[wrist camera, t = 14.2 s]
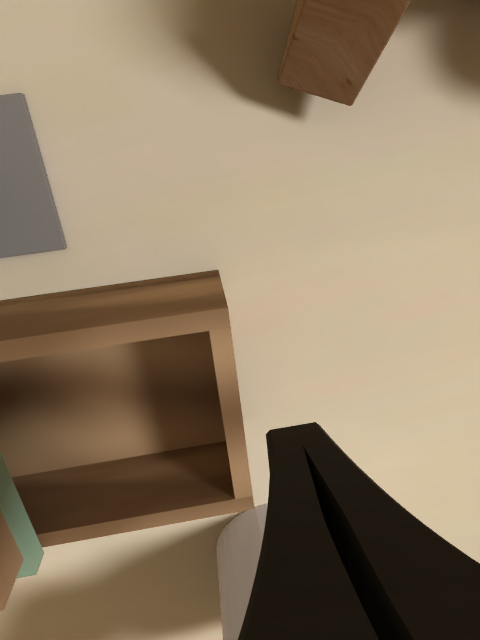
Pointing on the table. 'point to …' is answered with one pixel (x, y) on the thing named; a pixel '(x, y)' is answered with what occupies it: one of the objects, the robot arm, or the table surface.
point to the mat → (24, 186)
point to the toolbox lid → (15, 538)
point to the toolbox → (122, 407)
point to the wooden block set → (337, 45)
